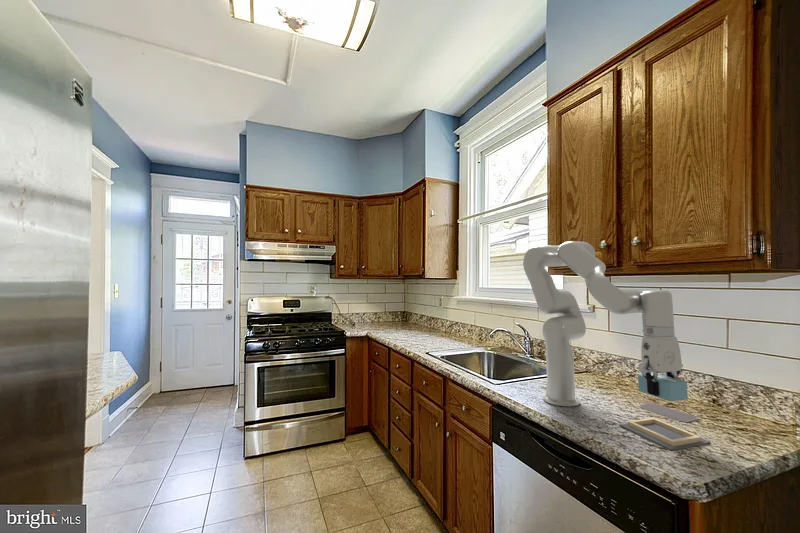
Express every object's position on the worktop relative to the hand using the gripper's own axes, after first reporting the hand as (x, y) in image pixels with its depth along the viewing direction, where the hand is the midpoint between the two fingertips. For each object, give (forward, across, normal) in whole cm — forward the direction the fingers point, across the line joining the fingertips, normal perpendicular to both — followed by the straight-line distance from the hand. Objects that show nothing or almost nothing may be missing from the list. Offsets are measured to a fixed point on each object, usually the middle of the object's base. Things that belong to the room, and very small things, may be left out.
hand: (662, 392), depth 102 cm
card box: (+1, 0, 0) cm, 1 cm away
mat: (+12, 0, +1) cm, 12 cm away
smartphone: (+13, +17, +13) cm, 25 cm away
